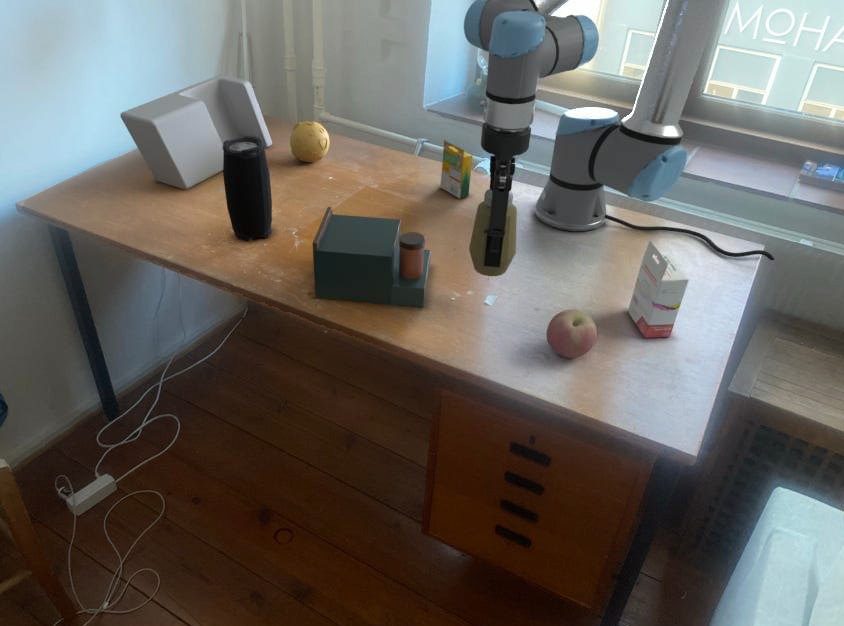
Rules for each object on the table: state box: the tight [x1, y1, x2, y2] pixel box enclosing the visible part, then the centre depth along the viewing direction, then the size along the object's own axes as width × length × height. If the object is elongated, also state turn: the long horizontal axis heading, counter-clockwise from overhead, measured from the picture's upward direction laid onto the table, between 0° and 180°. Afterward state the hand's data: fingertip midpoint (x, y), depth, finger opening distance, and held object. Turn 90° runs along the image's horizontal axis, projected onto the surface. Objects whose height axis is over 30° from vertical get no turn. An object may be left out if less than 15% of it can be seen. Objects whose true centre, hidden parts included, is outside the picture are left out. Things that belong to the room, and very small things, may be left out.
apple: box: [545, 309, 598, 359], centre depth 116 cm, size 8×8×8 cm
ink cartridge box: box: [627, 240, 690, 339], centre depth 121 cm, size 9×5×15 cm, turn 5°
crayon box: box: [440, 139, 473, 200], centre depth 163 cm, size 7×3×12 cm, turn 34°
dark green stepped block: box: [311, 206, 432, 308], centre depth 131 cm, size 20×14×12 cm
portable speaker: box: [222, 136, 273, 243], centre depth 143 cm, size 9×9×20 cm
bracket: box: [119, 74, 273, 191], centre depth 169 cm, size 30×10×30 cm, turn 149°
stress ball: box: [289, 120, 331, 163], centre depth 176 cm, size 10×10×10 cm
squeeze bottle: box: [468, 188, 518, 277], centre depth 120 cm, size 8×8×18 cm
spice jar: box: [399, 231, 426, 279], centre depth 128 cm, size 5×5×7 cm
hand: (492, 252), depth 124 cm, fingers closed on squeeze bottle, 8 cm apart
